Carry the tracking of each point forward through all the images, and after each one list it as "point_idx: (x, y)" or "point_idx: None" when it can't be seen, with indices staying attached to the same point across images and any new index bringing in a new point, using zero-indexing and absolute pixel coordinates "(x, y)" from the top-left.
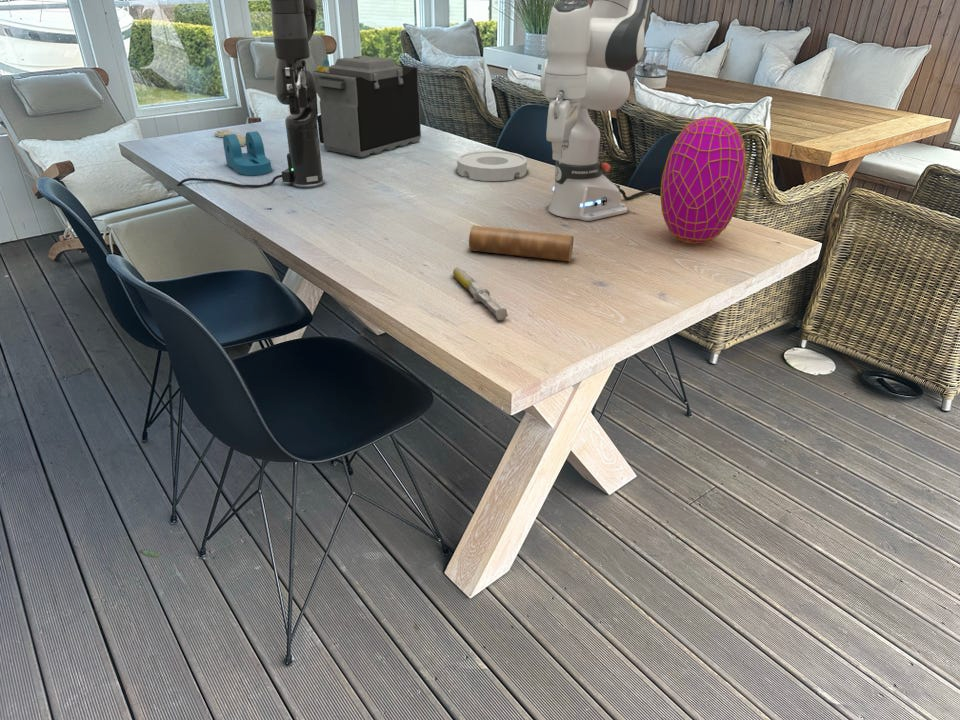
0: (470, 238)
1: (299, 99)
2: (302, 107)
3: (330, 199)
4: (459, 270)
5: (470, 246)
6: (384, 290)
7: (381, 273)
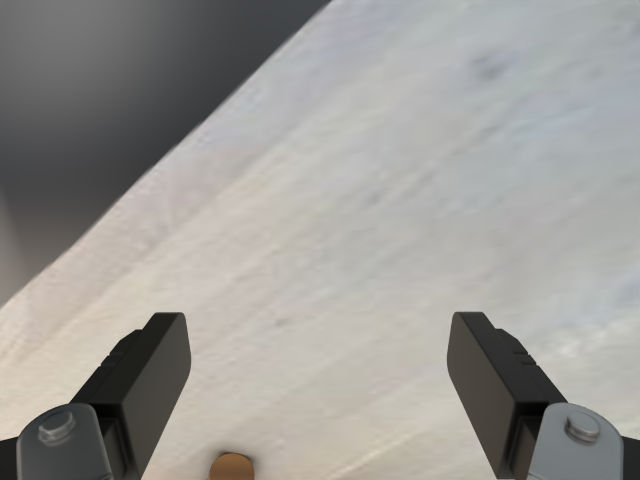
0: (209, 477)
1: (475, 363)
2: (451, 335)
3: (588, 160)
4: None
5: (213, 463)
6: (34, 341)
7: (105, 330)
